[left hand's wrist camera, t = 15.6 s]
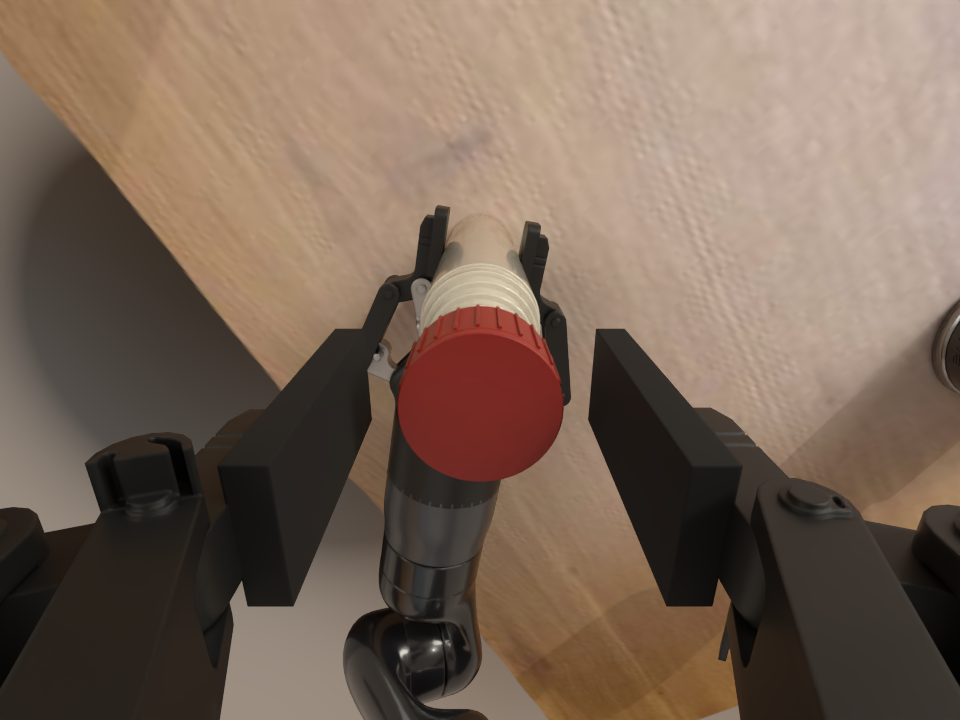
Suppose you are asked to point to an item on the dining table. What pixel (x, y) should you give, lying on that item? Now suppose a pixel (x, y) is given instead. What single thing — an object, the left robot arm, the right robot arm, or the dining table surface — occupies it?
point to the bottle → (480, 274)
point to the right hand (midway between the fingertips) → (487, 216)
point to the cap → (480, 395)
